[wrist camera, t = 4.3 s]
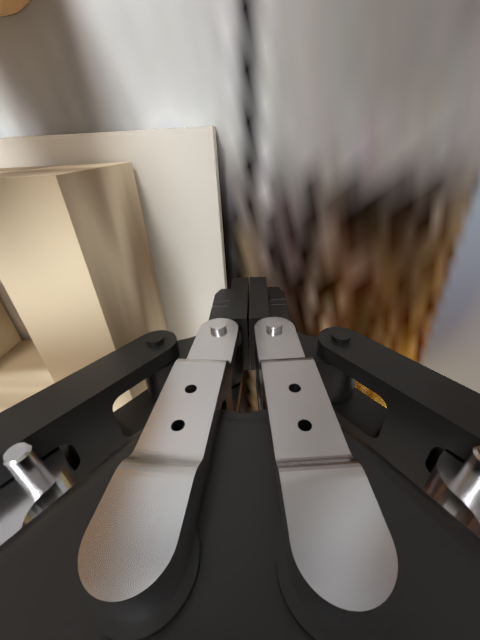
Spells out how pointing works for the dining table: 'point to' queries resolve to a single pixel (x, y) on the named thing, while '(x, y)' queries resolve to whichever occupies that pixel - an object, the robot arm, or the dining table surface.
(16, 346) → the socket block
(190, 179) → the plate
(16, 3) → the dowel
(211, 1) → the dining table surface
